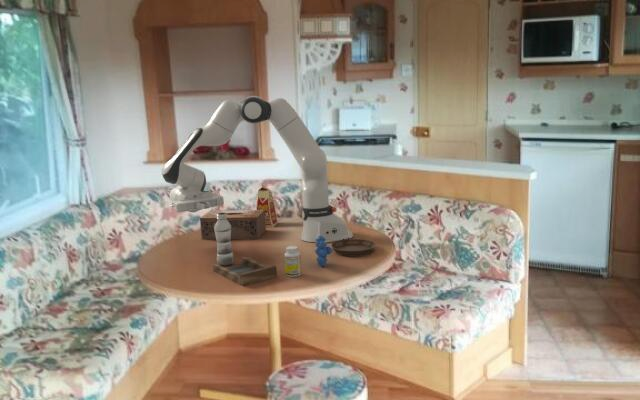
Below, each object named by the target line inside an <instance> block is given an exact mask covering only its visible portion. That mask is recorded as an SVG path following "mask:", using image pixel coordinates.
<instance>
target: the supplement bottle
mask: <svg viewBox="0 0 640 400" xmlns="http://www.w3.org/2000/svg"><path fill="white" fill-rule="evenodd" d="M285 249H286V250H285V251H286V252H285V253H284V265H285V267H284V268H285V269H284V270H285V275H286V276H287V277H289V278H296V277H299V276H301V274H302V266H301V263H302V262H301V253H300V251H298V250H299V249H298V246H296V245H289V246H287V247H286V248H285Z"/></svg>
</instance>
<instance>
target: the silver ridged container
mask: <svg viewBox="0 0 640 400" xmlns="http://www.w3.org/2000/svg"><path fill="white" fill-rule="evenodd" d="M217 219H218V221H217V222H216V224H215V226H214V231H215V235H216V239H215V240H216V264H218V265H220V266H229V265H231V264H233V263H234V252H233V249H232V239H231V225H230V223H229V222H228V221H227V220H226V219H227V215H226V213H218V214H217Z"/></svg>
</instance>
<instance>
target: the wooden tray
mask: <svg viewBox="0 0 640 400" xmlns="http://www.w3.org/2000/svg"><path fill="white" fill-rule="evenodd" d="M212 271H213V272H215V273H217V274H219V275H221V276H223V277H225V278H226V279H228V280H230V281H232V282H234V283H236V284H238V285H240V286H242V287H245V286H247V285H252V284H255V283H256V284H257V283H258V282H264V281H266V280H271V279H274V278H277V277H278V274H277V273H278V272H277V265H275V264H273V265H269V266H267V265H265V264H262V263H260V262H258V261H257V260H254V259H251V258H249V257H247V256H244V257H241V264H236V265H233V266H228V267H224V266H223V265H219V264H218V263H214V264H213V263H212Z"/></svg>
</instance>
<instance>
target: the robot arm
mask: <svg viewBox="0 0 640 400" xmlns="http://www.w3.org/2000/svg"><path fill="white" fill-rule="evenodd" d="M244 121H245V122H247V123H250V124H259V123H261V122H264V121H268V122H270V123H271V124H272V126H273V127H274V129H275V130H276V132H277V133H278V135H279V136H280V138H282V141H284V144H286V146H287V148H288V150H289V151H290V153H291V154H292V156H293V157H294V160H295V161H296V163H297V164H298V166H299V167H300V169H301V190H302V192H301V193H302V207H301V208H302V209H301V215H302V217H301V218H302V220H303V221H302V223H303V224H302V231H301V237H300V239H301V240H302V241H304V242H308V243H309V242H311V243H317V241H316V239H317V238H318V236H323V237H324V238H325V239H326V240H325V243H326V244H327V243H332V242H333V243H334V242H337V241H341V240H343V239H344V240H348V238H349V239H353V238H354V234H353V232H352V231H351V230H349V229H348V225H347V223H346V222H345V220H344V219H342V218H341V217H339V216H338V215H336V214H335V213H336V212H337V210H338V208H337V207H335V206H332V205H330V202H329V181H328V168H327V167H328V159H327V155H326V153H325V151H324V150H323V149H322V148H320V146H319V144H318V143H317V142H316V140H315V138H314V136H313V135H312V133H311V132H310V130H309V129H308V127H307V126H306V125H305V123H304V121H303V119H302V118H301V117H300V116H299V114H298V112H297V111H296V110H295V109H294V107H292V105H291V104H290V103H289V101H287V100H286V99H284V98H281V97H279V98H274V99H273V100H271V101H266V100H265V99H263V98H262V97H260V96H257V95H250V96H247V97H246V98H245V99H244V100H243V101H241V102H240V103H239V102H236V101H234V100H232V99H231V100H230V99H226V100H224V101H222V102H221V103H220V104H219V106H218V107H217V108H216V110H215V111H214V113H213V114H212V115H211V117H210V119H209V121H208V122H207V123H206V124H205V125H203V126H201V127H197V128H196V129H195V130H193V132H192V133H190V135H189V136H188V137H187V138H186V140H185V141H184V142H183V143H182V144H181V146H179V148H178V149H177V151H176V152H175V153H174V154H173V156H171V158H169V159H168V160H167V162H166V163H164V165H163V167H162V169H161V175H162V178H163V180H164V181H165V183H168V184H171V185H174V186H176V187H174V188H172V189H171V190H170V192H169V200H170V202H171V203H170V204H169V207H171V208H173V210H174V211H175V212H176V213H185V212H189V213H197V212H199V211H201V210H205V209H210V208H215V207H222V206H223V205H224V202H225V201H224V200H225V199H224V196H222V195H220V194H218V193H213V191H211V190H204V189H206V185H207V177H206V174H205V172H204V170H201V169H198V168H196V167H194V166H191V165H189V164H186V163H185V162H186V160H187V159H188V158H189V157H190V155H191V154H192V153H193V151H194V150H195V149H196V148H197V149H198V147H202V146H209V147H210V146H212V147H214V146H215V147H217V146H218V147H219V146H223V145H225V144H227V143H228V142H229V141H230V139H231V138H232V137H233V135H234V133H235V131H236V130H237V128H238V126H239V124H240V123H242V122H244ZM352 237H353V238H352Z"/></svg>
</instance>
